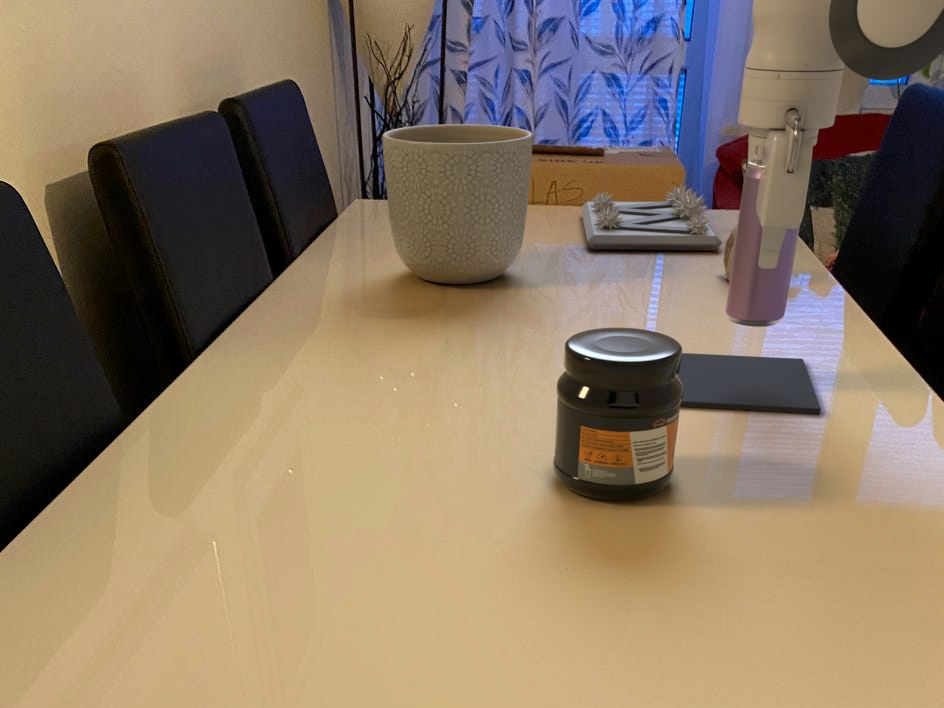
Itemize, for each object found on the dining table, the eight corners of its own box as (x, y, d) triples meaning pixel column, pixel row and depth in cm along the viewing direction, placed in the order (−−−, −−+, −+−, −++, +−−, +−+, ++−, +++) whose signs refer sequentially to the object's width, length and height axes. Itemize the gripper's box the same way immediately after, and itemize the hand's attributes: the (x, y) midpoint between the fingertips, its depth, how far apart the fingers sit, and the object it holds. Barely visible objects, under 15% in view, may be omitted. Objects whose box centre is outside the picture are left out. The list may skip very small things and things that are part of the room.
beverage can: (773, 331, 100) (800, 169, 92) (716, 322, 103) (738, 164, 94) (790, 316, 104) (817, 160, 96) (735, 308, 107) (757, 155, 98)
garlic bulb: (743, 289, 149) (759, 219, 146) (787, 292, 142) (805, 218, 140) (699, 277, 144) (716, 204, 141) (743, 279, 137) (761, 203, 134)
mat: (802, 363, 113) (803, 358, 113) (819, 414, 100) (820, 408, 100) (677, 357, 115) (678, 352, 115) (678, 406, 102) (679, 401, 102)
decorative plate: (580, 215, 184) (582, 173, 180) (696, 216, 183) (701, 174, 179) (586, 252, 159) (589, 204, 156) (721, 253, 158) (727, 205, 154)
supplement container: (665, 511, 82) (682, 369, 75) (540, 497, 84) (546, 358, 77) (677, 462, 90) (694, 330, 84) (564, 450, 93) (571, 320, 86)
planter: (361, 272, 149) (353, 131, 138) (470, 252, 159) (470, 120, 149) (443, 301, 135) (441, 148, 125) (557, 278, 146) (563, 134, 135)
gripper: (838, 117, 83) (807, 285, 91) (810, 93, 100) (786, 237, 108) (761, 116, 84) (737, 283, 92) (746, 93, 101) (727, 236, 109)
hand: (763, 258), depth 100 cm, fingers closed on beverage can, 6 cm apart
